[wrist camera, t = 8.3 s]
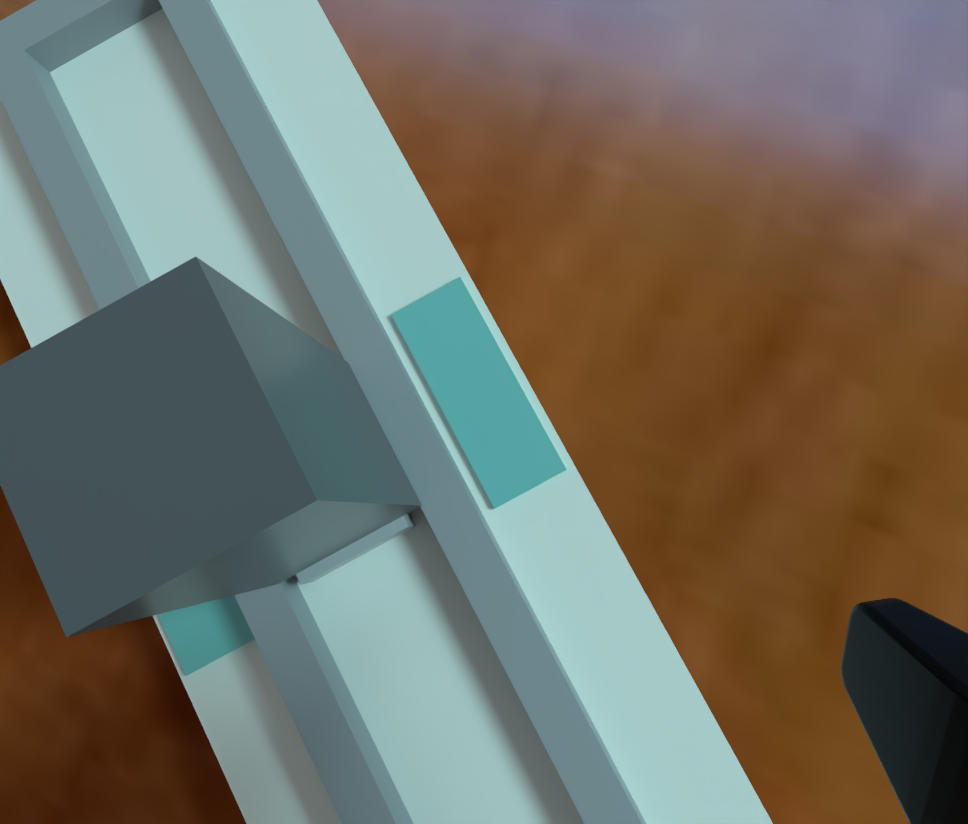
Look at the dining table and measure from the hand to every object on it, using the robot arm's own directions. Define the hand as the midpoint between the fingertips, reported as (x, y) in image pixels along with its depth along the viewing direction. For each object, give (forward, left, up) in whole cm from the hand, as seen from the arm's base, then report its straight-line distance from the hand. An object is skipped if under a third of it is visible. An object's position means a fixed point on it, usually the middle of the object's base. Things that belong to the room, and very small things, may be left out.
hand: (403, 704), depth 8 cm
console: (+3, +3, -12) cm, 13 cm away
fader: (+3, +3, -10) cm, 11 cm away
